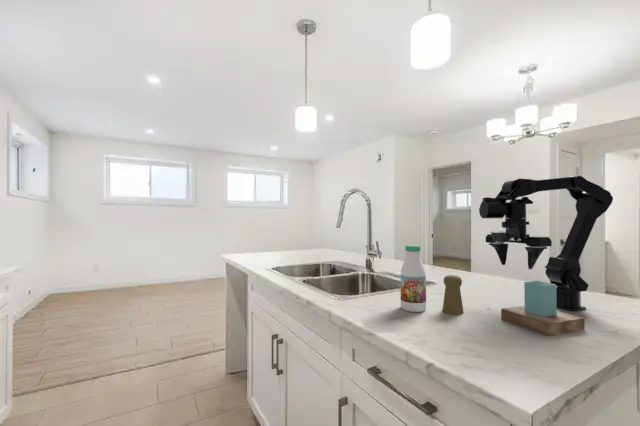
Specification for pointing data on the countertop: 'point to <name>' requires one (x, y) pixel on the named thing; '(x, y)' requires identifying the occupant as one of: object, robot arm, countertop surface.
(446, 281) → the cork
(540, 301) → the teal block
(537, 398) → the countertop surface
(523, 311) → the wooden board
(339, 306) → the countertop surface
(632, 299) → the countertop surface
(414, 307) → the milk bottle
